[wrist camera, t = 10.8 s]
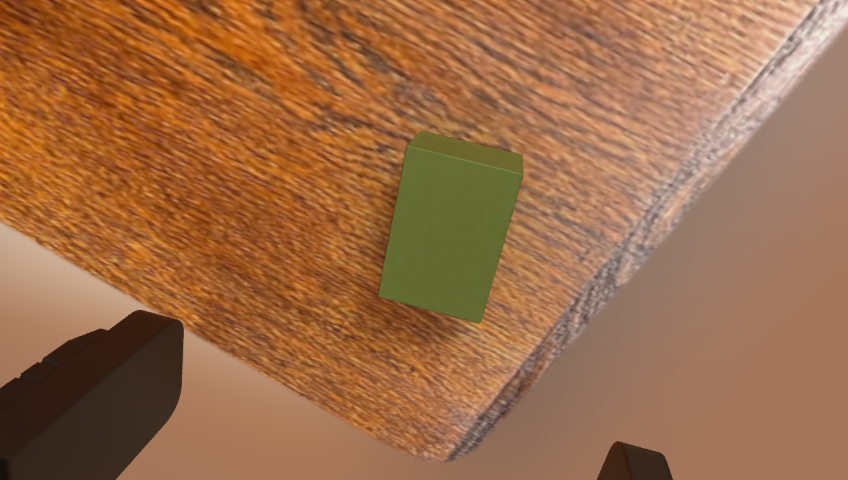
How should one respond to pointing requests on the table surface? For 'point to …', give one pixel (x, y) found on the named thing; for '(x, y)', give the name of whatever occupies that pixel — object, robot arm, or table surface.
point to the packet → (449, 225)
